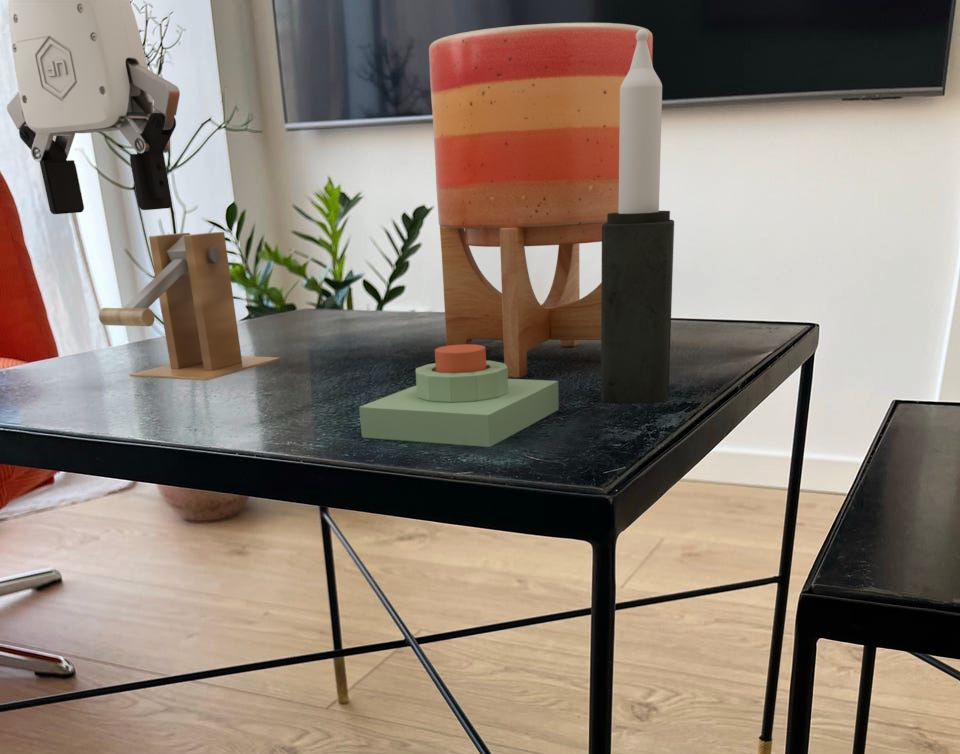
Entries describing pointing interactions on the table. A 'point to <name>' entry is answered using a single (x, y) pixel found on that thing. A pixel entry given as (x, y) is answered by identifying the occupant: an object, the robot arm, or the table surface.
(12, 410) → the table surface
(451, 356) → the button
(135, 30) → the robot arm
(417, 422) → the button box
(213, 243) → the bracket
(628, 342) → the candle
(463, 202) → the planter
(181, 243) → the lever
